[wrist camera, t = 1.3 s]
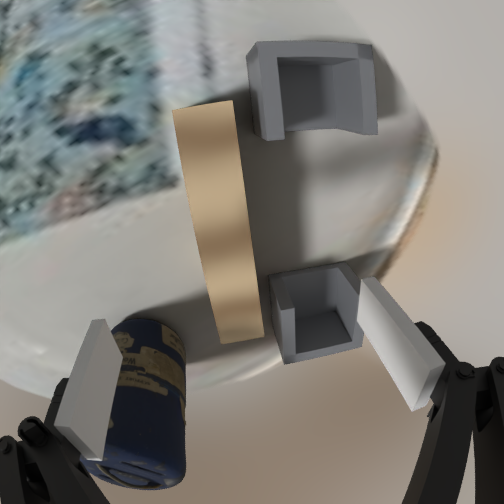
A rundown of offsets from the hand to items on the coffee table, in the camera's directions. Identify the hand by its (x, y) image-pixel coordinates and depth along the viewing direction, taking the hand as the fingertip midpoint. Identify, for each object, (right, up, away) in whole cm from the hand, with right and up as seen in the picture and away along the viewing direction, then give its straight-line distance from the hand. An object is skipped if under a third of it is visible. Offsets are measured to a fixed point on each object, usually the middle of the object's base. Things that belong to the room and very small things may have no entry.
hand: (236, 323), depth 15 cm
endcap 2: (+7, -1, +18) cm, 20 cm away
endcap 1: (+5, +17, +9) cm, 20 cm away
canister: (-11, -7, +19) cm, 23 cm away
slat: (-2, +7, +13) cm, 15 cm away
